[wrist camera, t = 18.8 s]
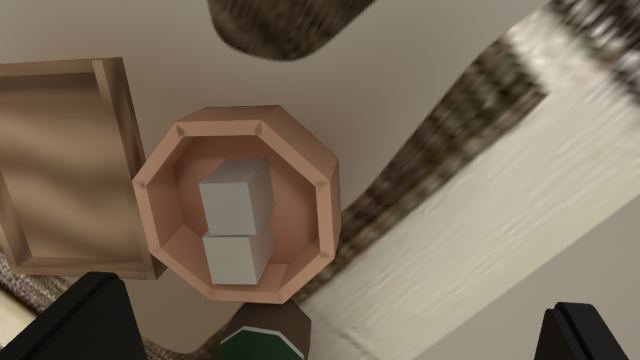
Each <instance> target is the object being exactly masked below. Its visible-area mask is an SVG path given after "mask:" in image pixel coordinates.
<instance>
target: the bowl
mask: <svg viewBox="0 0 640 360" xmlns="http://www.w3.org/2000/svg"><path fill="white" fill-rule="evenodd" d="M262 158H268V163H269V169H270V176H271V182H272V189H273V195H274V201H275V206H274V207H273V209H272V211H271V212H270V214H269V218H270V225H271V231H272V238H273V244H274V251H273V253H272V255H271V257H270V259H269V261H268V263H267V265H266V267H265V269H264V271H263V273H262V275H261V277H260V279H259V281H258V283H257V285H250V284H213V283H212V279H211V274H210V270H209V265H208V261H207V256H206V252H205V248H204V243H203V239H202V237H203V236H204V235H205V234H206V232H207V231H208V230H209V228H208V224H207V220H206V215H205V211H204V206H203V202H202V197H201V193H200V189H199V183H200V182H201V181H203V180H204V179H205V178H206V177H207V176H208V175H209V174H211V173H212V172H213V171H214V170H215V169H216V168H217V167H219V166H220V165H221V164H222V163H223V162H224V161H225V160H243V159H262ZM132 183H133V187H134V191H135V195H136V199H137V203H138V207H139V211H140V215H141V219H142V223H143V227H144V232H145V236H146V240H147V244H148V248H149V252H150V253H151V254H152V255H153V256H155V257H156V258H157V259H158V260H160V261H161V262H162V263H164V264H165V265H166V266H167V267H169V268H170V269H171V270H173V271H174V272H175V273H176V274H177V275H179V276H180V277H181V278H182V279H184V280H185V281H186V282H188V283H189V284H190V285H191V286H193V287H194V288H195V289H196V290H198V291H199V292H200V293H201V294H203V295H204V296H205V297H207V298H208V299H209V300H217V301H237V302H255V303H274V304H283V303H284V302H285V301H287V300H288V299H289V298H290V297H291V296H292V295H293V294H295V293H296V292H297V291H298V290H299V289H300V288H301V287H303V286H304V285H305V284H306V283H307V282H308V281H309V280H311V279H312V278H313V277H314V276H315V275H316V274H317V273H319V272H320V271H321V270H322V269H323V268H324V267H325V266H327V265H328V264H329V263H330V262H331V261H332V260H333V259H334V258H335V253H336V249H337V244H338V240H339V236H340V231H341V207H340V187H339V166H338V158H337V157H336V156H335V155H334V154H333V153H332V152H331V151H329V150H328V149H327V148H326V147H325V146H324V145H323V144H322V143H321V142H320V141H319V140H317V139H316V138H315V137H314V136H313V135H312V134H311V133H310V132H309V131H308V130H306V129H305V128H304V127H303V126H302V125H301V124H300V123H299V122H298V121H296V120H295V119H294V118H293V117H292V116H291V115H290V114H289V113H287V112H286V111H285V110H284V109H283V108H282V107H281V106H279V105H273V106H272V105H271V106H270V105H269V106H238V107H207V108H203V109H201V110H199V111H197V112H195V113H193V114H191V115H189V116H187V117H185V118H183V119H181V120H179V121H177V122H175V123H174V124H173V125H172V127H171V128H170V130H169V131H168V132H167V134H166V135H165V136H164V138H163V139H162V141H161V142H160V143H159V145H158V146H157V147H156V149H155V150H154V151H153V153H152V154H151V156H150V157H149V158H148V160H147V161H146V162H145V164H144V165H143V167H142V168H141V169H140V171H139V172H138V173H137V175H136V176H135V178H134V179H133V180H132Z"/></svg>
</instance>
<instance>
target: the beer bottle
mask: <svg viewBox="0 0 640 360" xmlns="http://www.w3.org/2000/svg"><path fill="white" fill-rule="evenodd" d="M310 332H311V320H310V318H309V317H308V316H307V315H306V314H305V313H304V312H303V311H302V310H301V309H300V308H299V307H298V306H297V305H296V304H295V303H294V302H293V301H292V300H291V299H288V300H287V301H285V302H284V303H283V304H274V303H255V302H250V303H248V304H247V305H245V306H244V307H242V308H241V309H240V310H238V312H237V313H236V315H235V317H234V318H233V320H232V322H231V323H230V325H229V327H228V329H227V331H226V333H225V335H224V337H223V339H222V341H221V343H220V345H219V347H218V348H217V350H216V352H215V354H214V356H213V358H212V360H307V359H308V353H309V347H310Z"/></svg>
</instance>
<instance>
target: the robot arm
mask: <svg viewBox="0 0 640 360" xmlns="http://www.w3.org/2000/svg"><path fill="white" fill-rule="evenodd" d="M0 360H148V359H147V356H146V352H145V349H144V346H143V343H142V339H141V336H140V333H139V329H138V326H137V323H136V320H135V316H134V313H133V310H132V306H131V303H130V300H129V296H128V293H127V290H126V287H125V284H124V282H123V281H122V280H121V279H120V278H119V276H118V275H117V274H116V273H113V272H99V271H90V272H87V273H86V274H84V275H83V276H82V277H81V278H80V279H79V280H78V281H77V282H75V283H74V284H73V285H72V286H71V287H70V288H69V289H68V290H67V291H65V292H64V293H63V294H62V295H61V296H60V297H59V298H58V299H57V300H56V301H55V302H53V303H52V304H51V305H50V306H49V307H48V308H47V309H46V310H45V311H44V312H42V313H41V314H40V315H39V316H38V317H37V318H36V319H35V320H34V321H33V322H31V323H30V324H29V325H28V326H27V327H26V328H25V329H24V330H23V331H22V332H20V333H19V334H18V335H17V336H16V337H15V338H14V339H13V340H12V341H11V342H9V343H8V344H7V345H6V346H5V347H4V348H3V349H2V350H1V351H0ZM534 360H629V359H628V357H627V356H626V355H625V353H624V351H623V350H622V348H621V347H620V345H619V344H618V342H617V341H616V339H615V338H614V336H613V334H612V333H611V331H610V330H609V328H608V327H607V325H606V324H605V322H604V321H603V319H602V318H601V316H600V315H599V313H598V312H597V310H596V309H595V308H594V306H592V305H591V304H584V303H568V302H558V303H557V304H556V305H555V307H554V309H547V310H546V311H545V314H544V319H543V323H542V328H541V332H540V336H539V340H538V345H537V349H536V353H535V358H534Z"/></svg>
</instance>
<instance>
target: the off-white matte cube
mask: <svg viewBox="0 0 640 360" xmlns="http://www.w3.org/2000/svg"><path fill="white" fill-rule="evenodd" d="M199 189H200V193H201V197H202V202H203V206H204V211H205V215H206V220H207V224H208V228H209V233H210V236H218V235H257V234H258V232H259V230H260V229H261V227H262V225H263V224H264V222H265V220H266V219H267V217H268V215H269V214H270V212H271V211H272V209H273V207H274V206H275V201H274V195H273V189H272V182H271V176H270V169H269V163H268V158H262V159H243V160H225V161H224V162H223V163H222V164H221V165H220V166H219V167H217V168H216V169H215V170H214V171H213V172H212V173H211V174H209V175H208V176H207V177H206V178H205V179H204V180H203V181H201V182H200V183H199Z"/></svg>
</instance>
